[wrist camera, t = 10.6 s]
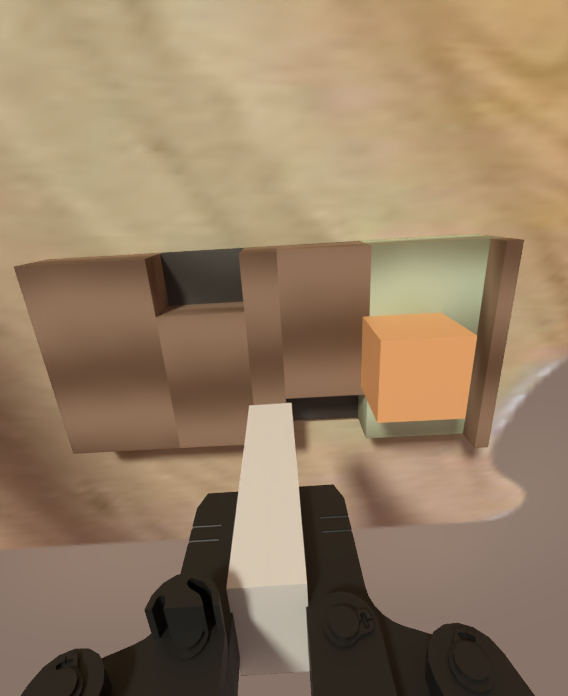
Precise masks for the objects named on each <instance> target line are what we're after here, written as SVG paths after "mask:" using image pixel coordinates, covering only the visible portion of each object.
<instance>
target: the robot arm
mask: <svg viewBox="0 0 568 696" xmlns="http://www.w3.org/2000/svg"><path fill="white" fill-rule="evenodd" d="M145 613H146V616H147V620H148V623H149V626H150V629H151V633H152V634H150V635H149V636H148V637H147V638H145V639H144V640H142V641H140V642H138V643H136V644H135V645H132V646H130V647H128V648H125V649H123V650H120V651H118V652H116V653H114V654H111V655H109V656H106V657H104V658H101V657H100V655H99V654H98V653H96V652H94V651H92V650H91V649H74V650H71V651H69V652H66V653H64V654H61V655H59V656H58V657H56V658H55V659H54V660H52V661H51V662H50V663H48V664H47V665H46V666H44V667H43V668H42V670H41V671H40V672H39V673H38V674H37V675H36V676H35V677H34V679H33V680H32V681H31V682H30V683H29V685H28V686H27V687H26V689H25V690H24V692H23V693H22V695H21V696H238V694H237V693H238V679H239V666H240V672H241V676H246V675H262V674H277V673H293V672H308V671H310V682H311V695H312V696H535V695H534V694H533V693H532V691H531V690H530V689H529V687H528V686H527V684H526V683H525V682H524V680H523V679H522V678H521V676H520V675H519V674H518V672H517V671H516V669H515V668H514V667H513V665H512V664H511V663H510V661H509V660H508V658H507V657H506V656H505V654H504V653H503V652H502V651H501V650H500V649H499V647H498V646H497V645H496V644H495V643H494V642H493V641H492V640H491V639H490V638H489V637H488V636H486V635H485V634H483V633H481V632H480V631H478V630H477V629H475V628H474V627H470V626H467V625H463V624H460V623H452V624H444V625H442V626H441V627H440V628H438V629H437V630H435V631H434V632H433V634H429V633H425V632H422V631H419V630H415V629H412V628H408V627H405V626H402V625H400V624H398V623H395V622H393V621H391V620H390V619H389V618H387V617H386V616H384V615H383V614H382V613H381V612H380V611H379V610H378V609H377V608H376V607H375V606H374V604H373V603H372V601H371V599H370V598H369V596H368V593H367V590H366V588H365V584H364V580H363V576H362V571H361V567H360V563H359V559H358V555H357V550H356V546H355V542H354V538H353V534H352V531H351V525H350V521H349V518H348V513H347V508H346V504H345V500H344V497H343V496H342V495H341V494H340V492H339V491H338V490H337V489H336V487H335V486H334V485H319V486H303V487H299V485H298V473H297V462H296V450H295V438H294V427H293V415H292V404H291V403H281V404H265V405H249V411H248V420H247V428H246V436H245V444H244V452H243V460H242V468H241V476H240V484H239V492H226V493H210V494H208V495H207V496H206V497H205V499H204V500H203V501H202V503H201V504H200V505H199V507H198V508H197V511H196V515H195V519H194V523H193V529H192V531H191V535H190V539H189V544H188V547H187V551H186V555H185V558H184V562H183V566H182V571H181V574H180V575H176V576H175V577H173V578H171V579H170V580H168V581H166V582H164V583H163V584H162V585H161V586H160V587H159V588H158V589H157V590H156V591H155V593H154V594H153V595H152V596H151V598H150V600H149V602H148V604H147V606H146V608H145Z"/></svg>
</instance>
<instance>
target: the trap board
mask: <svg viewBox="0 0 568 696" xmlns="http://www.w3.org/2000/svg"><path fill="white" fill-rule="evenodd" d="M523 243H524V240H521V239H513V238H505V237H496V236H488V235H480V234H471V235H454V236H437V237H420V238H403V239H386V240H369V241H353V242H336V243H319V244H302V245H285V246H268V247H251V248H235V249H218V250H201V251H184V252H167V253H150V254H133V255H116V256H100V257H83V258H66V259H49V260H43V261H39V262H34V263H29V264H25V265H20V266H15V267H14V269H15V272H16V275H17V278H18V281H19V285H20V288H21V291H22V294H23V297H24V300H25V303H26V306H27V310H28V313H29V316H30V319H31V322H32V325H33V328H34V331H35V335H36V338H37V341H38V344H39V347H40V350H41V353H42V357H43V360H44V363H45V366H46V369H47V372H48V375H49V378H50V382H51V385H52V388H53V391H54V394H55V397H56V400H57V403H58V407H59V410H60V413H61V416H62V419H63V422H64V425H65V428H66V432H67V435H68V438H69V441H70V444H71V447H72V450H73V453H74V454H75V453H94V452H114V451H133V450H152V449H172V448H191V447H210V446H230V445H244V444H245V436H246V428H247V420H248V411H249V405H265V404H281V403H291V404H292V415H293V420H307V419H326V418H345V417H358V418H359V421H360V424H361V426H362V429H363V432H364V434H365V437H366V438H385V437H404V436H423V435H443V434H462V433H463V434H464V435H465V437H466V438H467V439H468V440H469V442H470V443H471V444H472V445H473V447H474V448H482V447H488V444H489V438H490V433H491V427H492V421H493V415H494V410H495V404H496V398H497V392H498V387H499V381H500V375H501V369H502V364H503V358H504V352H505V346H506V341H507V335H508V329H509V323H510V318H511V312H512V306H513V300H514V295H515V289H516V283H517V277H518V272H519V266H520V260H521V254H522V249H523ZM440 312H441V313H443V314H444V315H446V316H447V317H449V318H451V319H452V320H454V321H455V322H457V323H458V324H460V325H462V326H463V327H465V328H466V329H468V330H469V331H471V332H473V333H474V334H476V335H477V341H476V348H475V355H474V362H473V369H472V376H471V383H470V389H469V396H468V403H467V410H466V417H465V419H446V420H426V421H406V422H386V423H377V421H376V419H375V417H374V415H373V412H372V410H371V408H370V406H369V403H368V401H367V399H366V397H365V395H364V392H363V390H362V388H361V362H362V322H363V317H366V316H384V315H403V314H422V313H440Z"/></svg>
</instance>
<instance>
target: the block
mask: <svg viewBox="0 0 568 696" xmlns="http://www.w3.org/2000/svg"><path fill="white" fill-rule="evenodd" d="M476 341H477V335H476V334H474V333H473V332H471V331H469V330H468V329H466V328H465V327H463V326H462V325H460V324H458V323H457V322H455V321H454V320H452V319H451V318H449V317H447V316H446V315H444V314H443V313H441V312H440V313H422V314H403V315H384V316H366V317H363V322H362V362H361V388H362V390H363V392H364V395H365V397H366V399H367V401H368V403H369V406H370V408H371V410H372V412H373V415H374V417H375V419H376V421H377V423H386V422H406V421H426V420H446V419H465V417H466V410H467V403H468V396H469V389H470V383H471V376H472V369H473V362H474V355H475V348H476Z"/></svg>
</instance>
